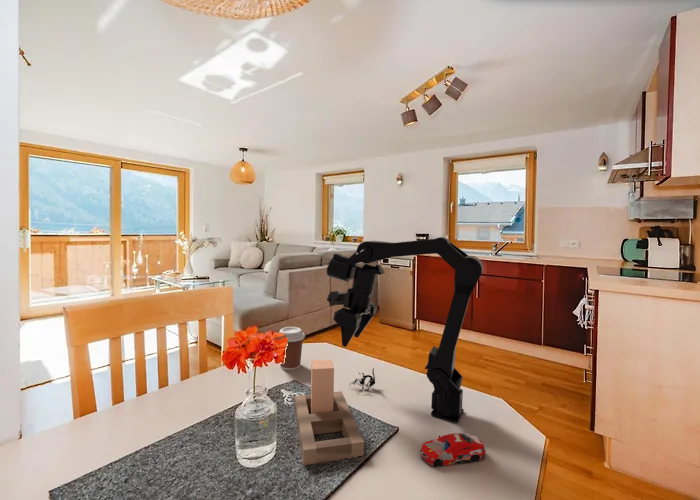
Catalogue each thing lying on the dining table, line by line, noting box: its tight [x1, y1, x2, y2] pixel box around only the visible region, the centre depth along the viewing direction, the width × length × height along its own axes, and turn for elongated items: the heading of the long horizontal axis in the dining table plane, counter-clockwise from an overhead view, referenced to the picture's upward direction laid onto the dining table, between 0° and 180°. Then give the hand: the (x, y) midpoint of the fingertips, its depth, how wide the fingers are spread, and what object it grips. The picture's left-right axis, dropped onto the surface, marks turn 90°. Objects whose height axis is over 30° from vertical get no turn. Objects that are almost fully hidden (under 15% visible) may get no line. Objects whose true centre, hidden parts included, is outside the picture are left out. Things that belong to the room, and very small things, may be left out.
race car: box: [419, 432, 487, 468], centre depth 68 cm, size 13×5×4 cm, turn 100°
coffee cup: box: [278, 326, 306, 371], centre depth 109 cm, size 9×9×12 cm
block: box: [310, 359, 335, 414], centre depth 80 cm, size 5×5×13 cm
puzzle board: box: [294, 391, 365, 466], centre depth 76 cm, size 21×12×3 cm, turn 14°
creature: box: [349, 367, 376, 395], centre depth 95 cm, size 8×5×8 cm
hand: (350, 341), depth 92 cm, fingers open, 9 cm apart
